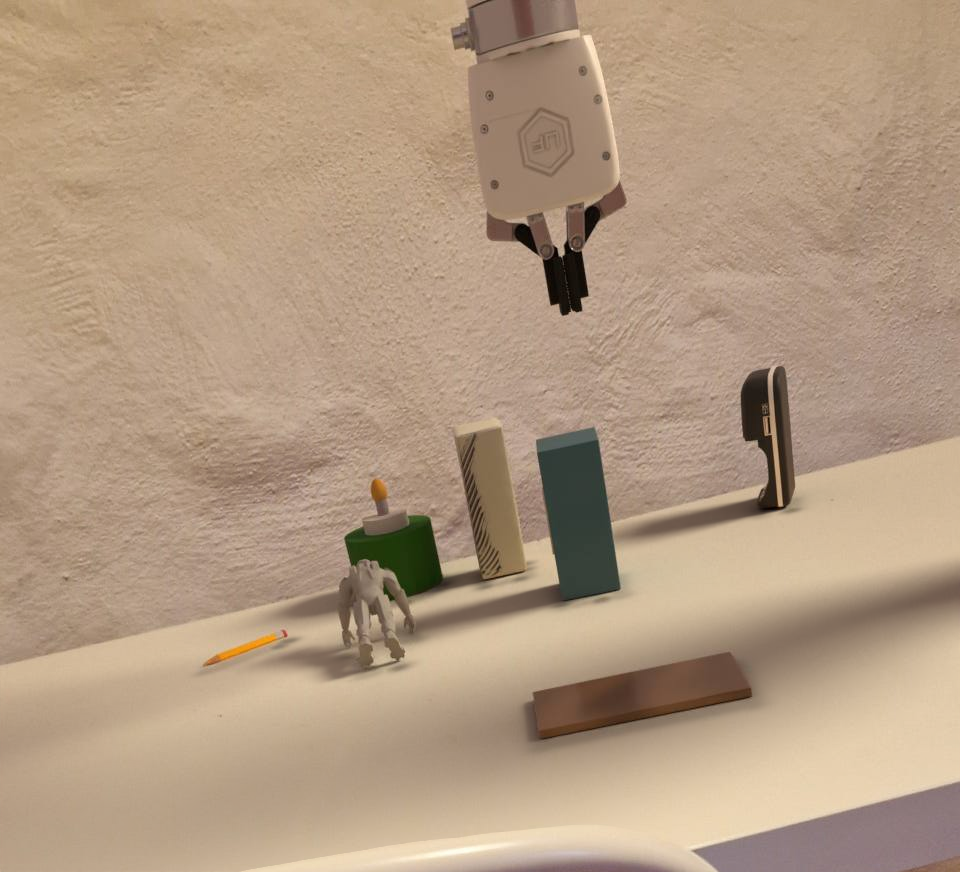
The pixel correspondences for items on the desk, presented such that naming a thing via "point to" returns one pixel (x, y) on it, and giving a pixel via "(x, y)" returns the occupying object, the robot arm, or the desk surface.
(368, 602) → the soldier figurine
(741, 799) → the desk surface
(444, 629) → the desk surface
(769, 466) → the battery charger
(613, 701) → the brown wooden plank
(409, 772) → the desk surface
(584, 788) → the desk surface
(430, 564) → the candle
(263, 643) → the pencil
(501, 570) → the box
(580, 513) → the tissue box
